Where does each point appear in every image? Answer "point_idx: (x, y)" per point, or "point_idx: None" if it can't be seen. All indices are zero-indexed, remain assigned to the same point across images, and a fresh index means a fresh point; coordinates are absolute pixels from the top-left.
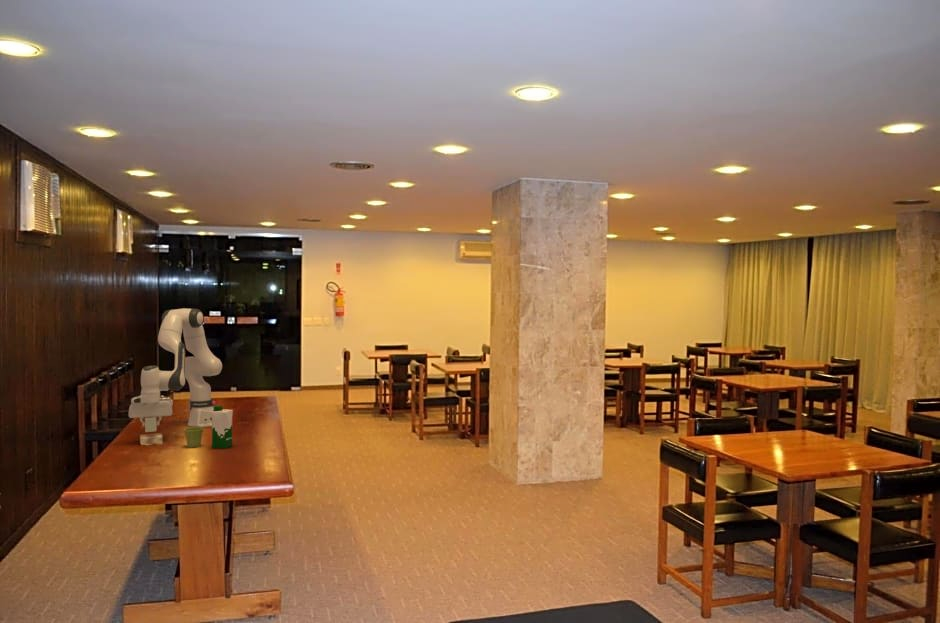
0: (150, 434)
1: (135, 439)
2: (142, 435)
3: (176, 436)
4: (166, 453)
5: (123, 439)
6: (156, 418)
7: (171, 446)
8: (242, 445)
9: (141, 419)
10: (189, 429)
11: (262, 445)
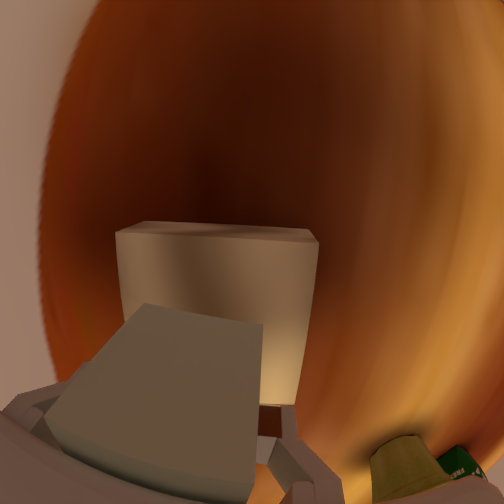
0: (206, 257)
1: (125, 96)
2: (136, 269)
3: (428, 135)
4: (267, 497)
5: (70, 76)
6: (255, 444)
7: (317, 435)
8: (482, 448)
9: (51, 442)
10: (417, 489)
11: (498, 449)
